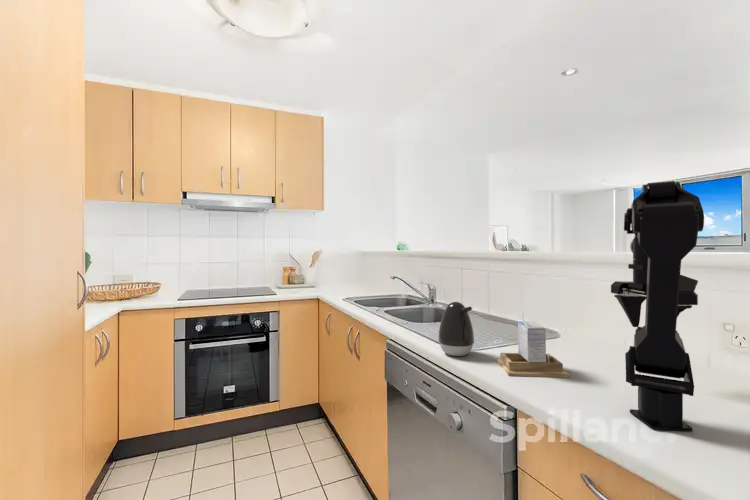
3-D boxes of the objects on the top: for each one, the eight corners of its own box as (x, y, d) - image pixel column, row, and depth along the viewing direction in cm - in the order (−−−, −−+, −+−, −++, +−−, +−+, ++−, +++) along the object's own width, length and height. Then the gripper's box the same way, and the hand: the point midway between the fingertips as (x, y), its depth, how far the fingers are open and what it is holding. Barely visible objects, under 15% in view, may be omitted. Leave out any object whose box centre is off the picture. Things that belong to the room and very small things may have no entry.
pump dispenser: (460, 361, 96) (460, 305, 96) (431, 353, 104) (430, 301, 104) (482, 354, 102) (481, 302, 102) (453, 346, 110) (452, 298, 110)
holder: (569, 377, 84) (569, 366, 84) (508, 375, 85) (508, 365, 85) (548, 361, 96) (548, 351, 96) (496, 360, 97) (496, 350, 97)
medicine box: (546, 363, 86) (546, 327, 86) (527, 362, 87) (527, 327, 87) (534, 353, 94) (534, 321, 94) (517, 353, 94) (517, 320, 94)
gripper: (728, 261, 66) (728, 344, 67) (658, 258, 85) (658, 323, 85) (665, 261, 67) (665, 343, 68) (609, 258, 86) (609, 322, 86)
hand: (649, 331), depth 77 cm, fingers open, 9 cm apart
